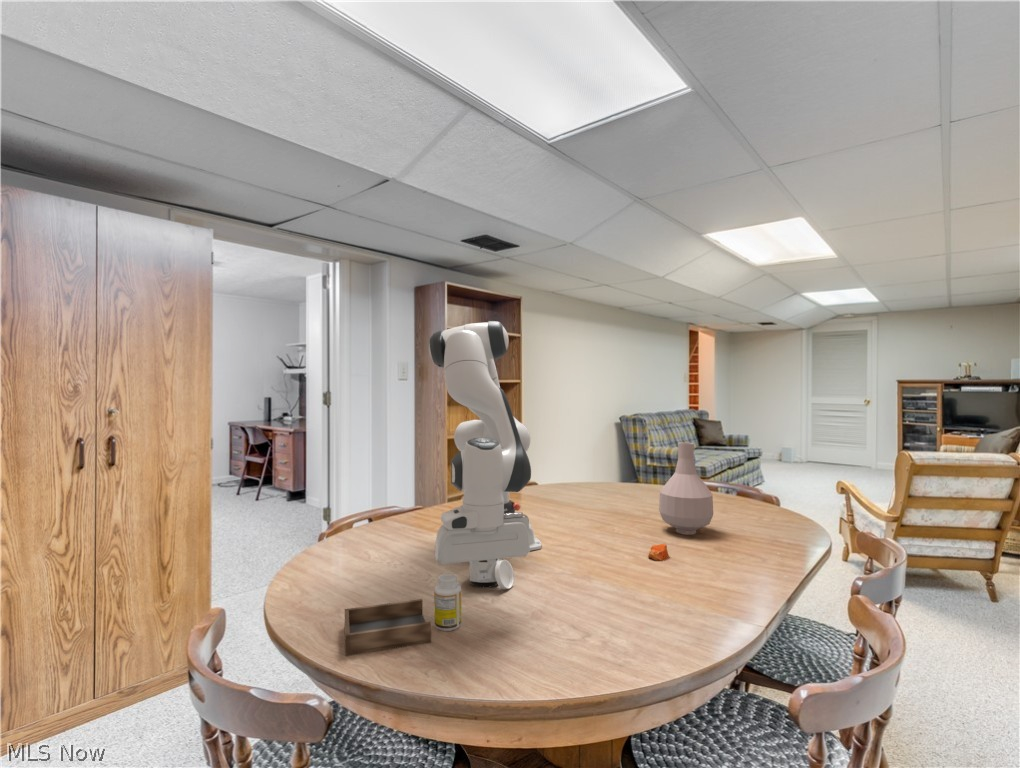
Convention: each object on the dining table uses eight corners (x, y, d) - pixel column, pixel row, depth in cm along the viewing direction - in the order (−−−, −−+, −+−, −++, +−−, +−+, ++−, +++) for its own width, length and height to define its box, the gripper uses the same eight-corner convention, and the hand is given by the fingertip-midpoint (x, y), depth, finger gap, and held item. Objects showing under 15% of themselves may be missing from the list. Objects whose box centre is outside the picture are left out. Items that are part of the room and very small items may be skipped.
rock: (631, 562, 149) (631, 547, 149) (642, 550, 160) (642, 536, 160) (674, 569, 143) (674, 553, 143) (683, 556, 154) (683, 541, 154)
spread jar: (471, 574, 138) (471, 530, 138) (514, 575, 137) (514, 531, 137) (466, 593, 126) (466, 545, 126) (513, 593, 125) (513, 545, 125)
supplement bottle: (448, 617, 113) (448, 570, 113) (466, 625, 109) (466, 576, 109) (428, 626, 109) (428, 577, 109) (447, 634, 105) (447, 584, 105)
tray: (422, 616, 113) (421, 599, 113) (431, 642, 102) (431, 623, 102) (344, 627, 108) (344, 609, 108) (345, 656, 97) (345, 635, 97)
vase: (718, 529, 179) (718, 442, 179) (707, 542, 165) (707, 447, 164) (667, 522, 189) (667, 439, 189) (652, 534, 174) (652, 444, 174)
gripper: (524, 508, 117) (524, 570, 117) (433, 514, 111) (433, 579, 111) (534, 515, 111) (533, 579, 111) (438, 522, 105) (438, 591, 105)
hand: (482, 580), depth 111 cm, fingers closed
